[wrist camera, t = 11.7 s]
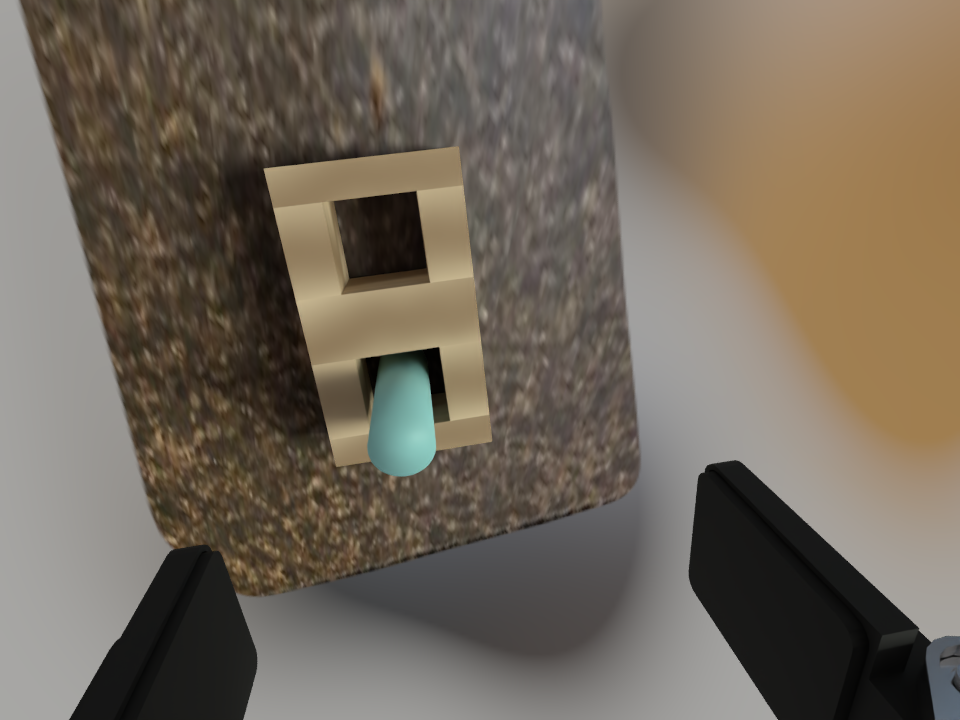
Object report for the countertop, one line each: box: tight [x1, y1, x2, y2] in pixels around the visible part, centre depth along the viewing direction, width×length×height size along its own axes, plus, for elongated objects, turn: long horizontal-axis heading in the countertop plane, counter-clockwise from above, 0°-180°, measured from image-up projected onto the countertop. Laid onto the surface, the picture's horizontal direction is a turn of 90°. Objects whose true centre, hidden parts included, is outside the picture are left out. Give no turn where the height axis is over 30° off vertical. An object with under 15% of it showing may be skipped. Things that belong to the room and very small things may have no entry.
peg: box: [367, 350, 436, 476], centre depth 28 cm, size 3×3×10 cm
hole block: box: [264, 146, 492, 467], centre depth 29 cm, size 16×9×4 cm, turn 6°
